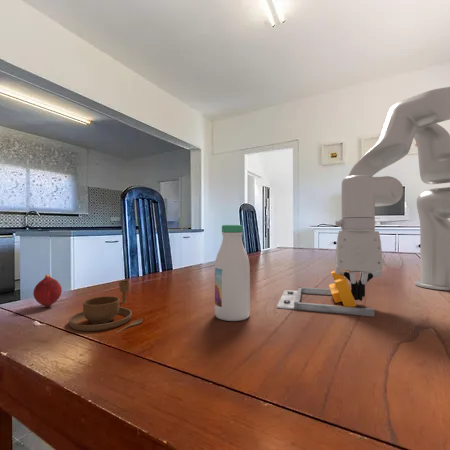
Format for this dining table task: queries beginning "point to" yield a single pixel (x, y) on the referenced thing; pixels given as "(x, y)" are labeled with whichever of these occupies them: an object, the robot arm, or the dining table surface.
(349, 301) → the pipe clamp
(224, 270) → the milk bottle
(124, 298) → the place setting
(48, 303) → the onion
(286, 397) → the dining table surface
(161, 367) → the dining table surface
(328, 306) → the hinge bracket
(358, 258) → the robot arm
